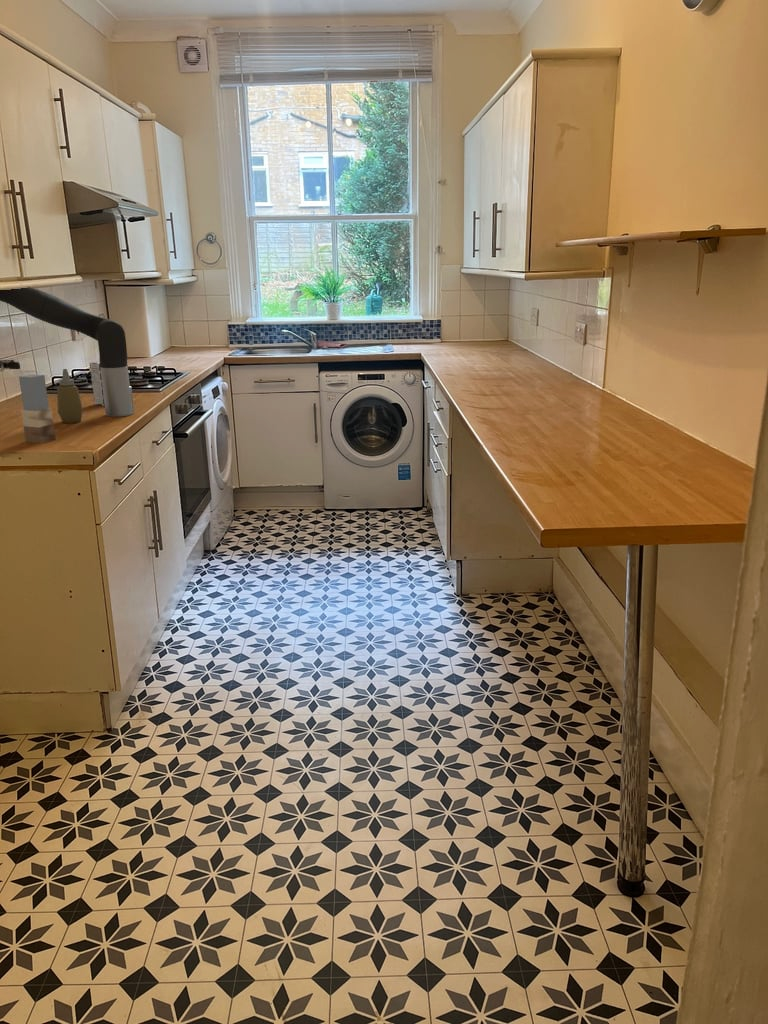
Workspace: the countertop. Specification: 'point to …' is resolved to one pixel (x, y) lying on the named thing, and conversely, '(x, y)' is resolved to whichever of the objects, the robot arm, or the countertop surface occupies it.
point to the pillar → (33, 392)
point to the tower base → (39, 434)
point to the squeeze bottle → (69, 400)
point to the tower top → (37, 417)
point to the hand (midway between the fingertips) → (8, 367)
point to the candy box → (97, 383)
